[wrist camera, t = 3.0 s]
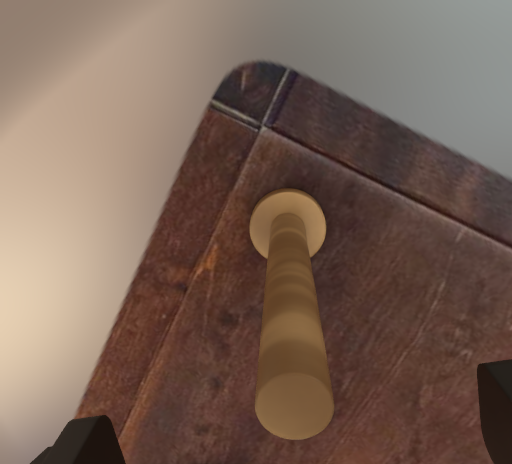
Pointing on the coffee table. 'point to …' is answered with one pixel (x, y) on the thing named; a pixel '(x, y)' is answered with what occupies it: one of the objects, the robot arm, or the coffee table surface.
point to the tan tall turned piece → (291, 317)
